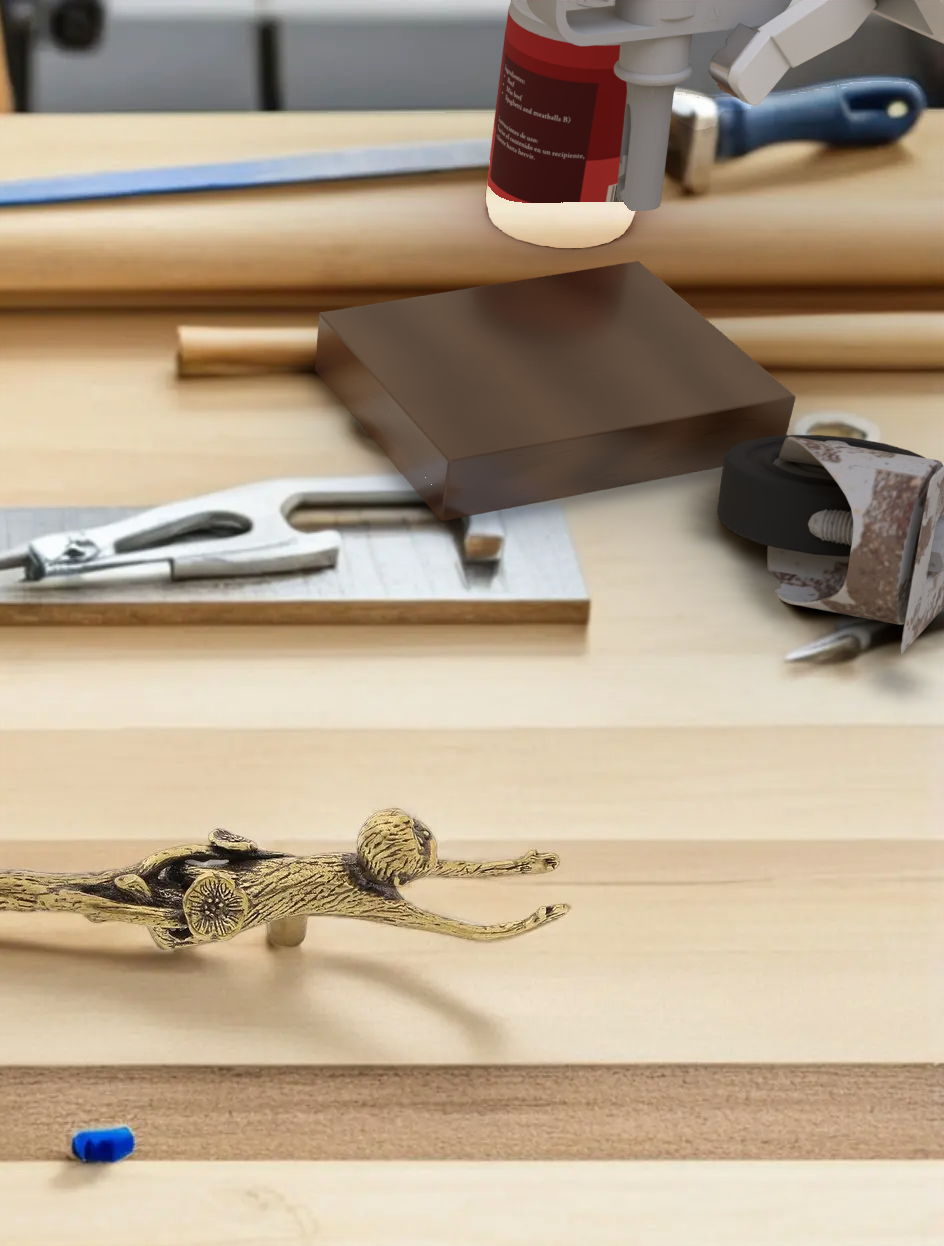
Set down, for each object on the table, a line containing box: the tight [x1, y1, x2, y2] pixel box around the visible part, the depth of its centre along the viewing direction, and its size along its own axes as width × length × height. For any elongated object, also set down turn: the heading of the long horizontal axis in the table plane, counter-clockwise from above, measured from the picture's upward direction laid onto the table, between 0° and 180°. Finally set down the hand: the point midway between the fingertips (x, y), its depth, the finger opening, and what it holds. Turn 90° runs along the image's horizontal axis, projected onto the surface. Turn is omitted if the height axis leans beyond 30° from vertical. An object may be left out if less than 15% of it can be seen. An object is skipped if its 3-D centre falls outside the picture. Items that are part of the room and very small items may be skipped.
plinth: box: [314, 260, 797, 522], centre depth 90 cm, size 16×13×3 cm
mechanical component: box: [527, 0, 793, 212], centre depth 71 cm, size 3×10×10 cm, turn 103°
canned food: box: [484, 0, 627, 203], centre depth 102 cm, size 8×8×11 cm
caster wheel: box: [716, 434, 944, 655], centre depth 81 cm, size 7×11×10 cm
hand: (682, 65), depth 71 cm, fingers closed on mechanical component, 3 cm apart
